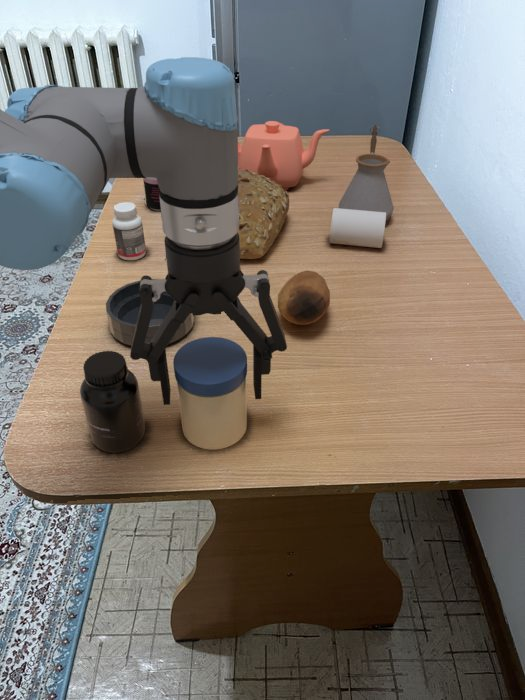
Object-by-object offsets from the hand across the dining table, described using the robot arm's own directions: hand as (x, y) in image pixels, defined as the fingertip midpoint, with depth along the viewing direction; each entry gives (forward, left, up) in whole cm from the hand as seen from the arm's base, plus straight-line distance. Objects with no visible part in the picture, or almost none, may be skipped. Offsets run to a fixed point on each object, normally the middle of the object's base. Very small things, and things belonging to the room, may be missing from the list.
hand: (212, 394), depth 70 cm
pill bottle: (-22, +43, -6) cm, 49 cm away
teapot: (+3, +80, -6) cm, 80 cm away
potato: (+11, +25, -6) cm, 28 cm away
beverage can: (-21, +65, -6) cm, 69 cm away
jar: (0, 0, -6) cm, 6 cm away
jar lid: (0, 0, +5) cm, 5 cm away
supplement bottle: (-12, -3, -6) cm, 14 cm away
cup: (+21, +51, -6) cm, 55 cm away
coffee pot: (+24, +67, -6) cm, 71 cm away
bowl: (-13, +21, -6) cm, 25 cm away
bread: (-4, +53, -6) cm, 53 cm away
